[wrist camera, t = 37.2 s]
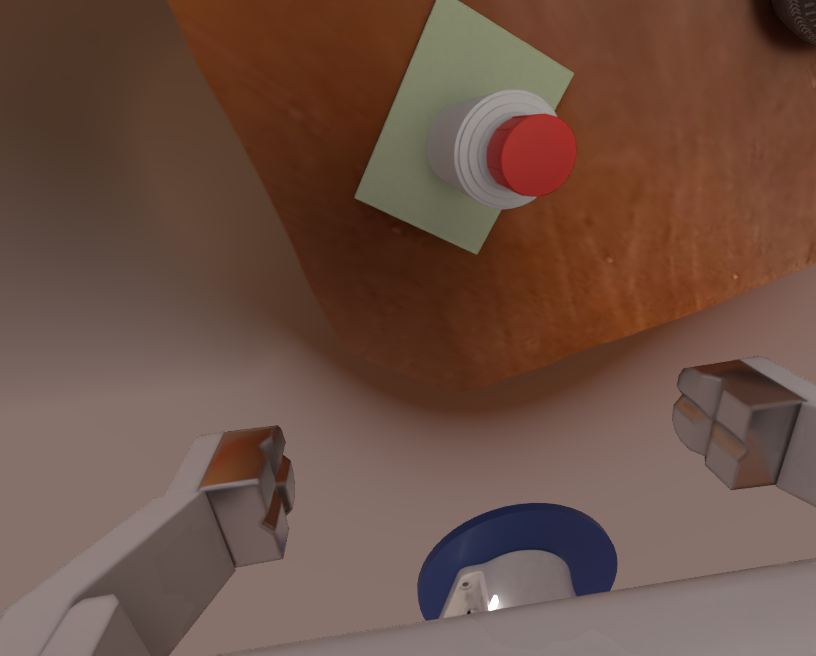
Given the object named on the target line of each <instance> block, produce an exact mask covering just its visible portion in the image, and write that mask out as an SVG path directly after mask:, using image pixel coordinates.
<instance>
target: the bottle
mask: <svg viewBox="0 0 816 656" xmlns="http://www.w3.org/2000/svg"><path fill="white" fill-rule="evenodd" d="M545 113H546V114H550V115H554V116H556V117H557V115H556V114H555V112H554V110H553V109H552V108H551V106H550V105H549V104H548V103H547V102H546V101H545V100H544V99H542V98H541V97H539V96H538V95H536V94H534V93H532V92H529V91H526V90H520V89H507V90H502V91H498V92H494V93H491V94H487V95H484V96H480V97H476V98H473V99H469V100H466V101H462V102H458V103H455V104H452V105H450V106H448V107H447V108H445V109H444V110H443V111H441V112H440V113H439V114H438V115H437V117H436V118H435V119H434V121H433V122H432V124H431V126H430V128H429V131H428V134H427V138H426V154H427V158H428V162H429V164H430V166H431V168H432V170H433V171H434V173H435V174H436V175H437V176H438V177H439V178H440V179H442V180H443V181H445V182H446V183H448V184H449V185H451V186H453V187H454V188H456V189H458V190H459V191H461V192H462V193H464V194H466V195H467V196H469V197H471V198H472V199H474V200H475V201H477V202H479V203H480V204H482V205H485V206H487V207H490V208H494V209H511V208H516V207H520V206H522V205H525V204H527V203H529V202H530V201H532V200H534V199H535V198H536V197H530V196H522V195H520V194H517V193H515V192H512V191H511V190H509V189H507V188H505V187H503V186H501V185H499V184H497V183H496V181H495V180H494V179H493V177H492V176H491V174H490V172H489V169H488V168H487V158H486V156H487V146H488V144H489V141H490V139H491V137H492V135H493V133H494V132H495V131H496V128H498V127H499V126H500V125H501V124H503V123H504V122H505V121H507V120H509V119H511V118H512V117H513V116H522V115H533V114H545Z"/></svg>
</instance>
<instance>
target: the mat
mask: <svg viewBox="0 0 816 656" xmlns="http://www.w3.org/2000/svg"><path fill="white" fill-rule="evenodd" d="M573 75H574V73H573V72H571V71H570V70H568V69H567V68H565V67H564V66H562V65H560V64H559V63H557V62H556V61H554V60H552V59H551V58H549V57H548V56H546V55H544V54H543V53H541V52H540V51H538V50H536V49H535V48H533V47H532V46H530V45H528V44H527V43H525V42H524V41H522V40H521V39H519V38H517V37H516V36H514V35H513V34H511V33H509V32H508V31H506V30H505V29H503V28H501V27H500V26H498V25H497V24H495V23H493V22H492V21H490V20H489V19H487V18H485V17H484V16H482V15H481V14H479V13H477V12H476V11H474V10H473V9H471V8H470V7H468V6H466V5H465V4H463V3H462V2H460V1H458V0H435V3H434V5H433V8H432V10H431V12H430V15H429V17H428V20H427V22H426V24H425V27H424V29H423V32H422V34H421V37H420V39H419V41H418V44H417V46H416V49H415V51H414V53H413V56H412V58H411V61H410V63H409V66H408V68H407V70H406V73H405V75H404V78H403V80H402V82H401V85H400V87H399V90H398V92H397V95H396V97H395V99H394V102H393V104H392V107H391V109H390V112H389V114H388V116H387V119H386V121H385V124H384V126H383V128H382V131H381V133H380V136H379V138H378V141H377V143H376V145H375V148H374V150H373V153H372V155H371V157H370V160H369V162H368V165H367V167H366V170H365V172H364V174H363V177H362V179H361V182H360V184H359V187H358V189H357V191H356V194H355V199H357V200H359V201H362V202H364V203H366V204H368V205H370V206H372V207H375V208H377V209H379V210H381V211H383V212H385V213H387V214H390V215H392V216H394V217H396V218H398V219H400V220H402V221H405V222H407V223H409V224H411V225H413V226H415V227H418V228H420V229H422V230H424V231H426V232H428V233H430V234H433V235H435V236H437V237H439V238H441V239H443V240H446V241H448V242H450V243H452V244H454V245H456V246H458V247H461V248H463V249H465V250H467V251H469V252H471V253H474V254H476V255H477V254H478V253H479V251H480V249H481V247H482V245H483V243H484V241H485V239H486V238H487V236H488V234H489V232H490V230H491V228H492V226H493V225H494V223H495V221H496V219H497V217H498V215H499V213H500V211H501V210H502V209H494V208H490V207H487V206H485V205H482V204H480V203H479V202H477V201H475V200H474V199H472V198H471V197H469V196H467V195H466V194H464V193H462V192H461V191H459V190H458V189H456V188H454V187H453V186H451V185H449V184H448V183H446V182H445V181H443V180H442V179H440V178H439V177H438V176H437V175H436V174H435V173H434V171H433V170H432V168H431V166H430V164H429V162H428V158H427V154H426V138H427V134H428V131H429V128H430V126H431V124H432V122H433V121H434V119H435V118H436V117H437V115H438V114H439V113H440V112H441V111H443V110H444V109H445V108H447V107H448V106H450V105H452V104H455V103H458V102H462V101H466V100H469V99H473V98H476V97H480V96H484V95H487V94H491V93H494V92H498V91H502V90H507V89H520V90H526V91H529V92H532V93H534V94H536V95H538V96H539V97H541V98H542V99H544V100H545V101H546V102H547V103H548V104H549V105H550V106H551V108H552V109H553V110H554V111H555V109H556V107H557V105H558V103H559V101H560V99H561V98H562V96H563V94H564V92H565V90H566V88H567V86H568V85H569V83H570V81H571V79H572V77H573Z"/></svg>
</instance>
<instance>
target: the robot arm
mask: <svg viewBox="0 0 816 656" xmlns="http://www.w3.org/2000/svg"><path fill="white" fill-rule="evenodd" d="M677 387H678V389H679V390H680V392H681V393H682V396H681V397H680V398H679V399H678V400H677V401H676V403H675V404H674V406H673V414H672V421H673V425H674V429H675V432H676V434H677V435H678V437H679V439H680V440H681V441H682V443H683V444H684V445H685V446H686V447H687V448H688V449H689V450H691V451H694V452H696V453H698V454H701V455H703V456H705V466H707V467H708V468H709V469H710V470H711V471H712V472H713V473H714V474H715V475H716V476H717V477H718V478H719V479H720V480H721V481H722V482H723V483H724V484H725V485H726V486H727V487H728V488H729V489H730V490H736V489H743V488H752V487H760V486H767V485H776V487H778V488H779V489H781V490H783V491H785V492H787V493H789V494H791V495H793V496H795V497H797V498H799V499H801V500H803V501H805V502H807V503H809V504H811V505H812V506H815V507H816V385H815V384H814V383H812V382H810V381H808V380H806V379H804V378H803V377H801V376H799V375H797V374H796V373H794V372H792V371H790V370H788V369H787V368H785V367H783V366H781V365H779V364H778V363H776V362H774V361H772V360H771V359H769V358H766V357H761V356H753V357H747V358H742V359H737V360H732V361H727V362H721V363H715V364H708V365H702V366H695V367H690V368H684V369H683V370H682V372H681V373H680V375H679V377H678V383H677ZM285 443H286V442H285V439H284V436H283V433H282V430H281V428H280V427H279V426H269V427H261V428H252V429H244V430H236V431H228V432H219V433H213V434H206V435H201V436H199V437H197V438H196V439H195V441H194V443H193V445H192V447H191V448H190V450H189V452H188V454H187V456H186V457H185V459H184V461H183V463H182V465H181V466H180V468H179V470H178V472H177V474H176V476H175V477H174V479H173V481H172V483H171V484H170V487H169V488H168V490H167V492H166V494H165V495H164V496H162V497H156V498H154V499H153V500H152V501H150V502H149V503H147V504H146V505H145V506H143V507H142V508H141V509H139V510H138V511H137V512H135V513H134V514H133V515H131V516H130V517H129V518H127V519H126V520H125V521H123V522H122V523H120V524H119V525H118V526H117V527H115V528H114V529H112V530H111V531H110V532H108V533H107V534H106V535H104V536H103V537H102V538H100V539H99V540H98V541H96V542H95V543H94V544H92V545H91V546H89V547H88V548H87V549H86V550H84V551H83V552H81V553H80V554H79V555H77V556H76V557H75V558H73V559H72V560H71V561H69V562H68V563H67V564H65V565H64V566H63V567H61V568H60V569H58V570H57V571H56V572H54V573H53V574H52V575H50V576H49V577H48V578H46V579H45V580H44V581H42V582H41V583H40V584H38V585H37V586H36V587H34V588H33V589H32V590H30V591H29V592H28V593H26V594H25V595H23V596H22V597H21V598H19V599H18V600H17V601H15V602H14V603H13V604H11V605H10V606H9V607H7V608H6V610H5V611H4V612H3V614H2V615H1V616H0V656H169V655H170V653H171V652H172V651H173V650H174V648H175V647H176V646H177V644H178V643H179V642H180V641H181V639H182V638H183V637H184V635H185V634H186V633H187V632H188V630H189V629H190V628H191V627H192V625H193V624H194V623H195V622H196V620H197V619H198V618H199V616H200V615H201V614H202V613H203V611H204V610H205V609H206V608H207V606H208V605H209V604H210V603H211V601H212V600H213V599H214V597H215V596H216V595H217V593H218V592H219V591H220V590H221V589H222V587H223V586H224V585H225V583H226V582H227V581H228V580H229V578H230V577H231V576H232V575H233V573H234V572H235V568H236V567H242V566H247V565H253V564H258V563H264V562H269V561H274V560H280V559H283V557H284V552H285V546H286V542H287V537H288V531H289V526H288V523H287V519H286V516H287V515H288V514H289V513H290V511H291V510H292V509H293V504H294V498H295V481H294V473H293V468H292V464H291V461H290V460H289V459H288V458H286V457H285V456H284V455H283V451H284V447H285ZM211 656H816V558H813V559H807V560H800V561H795V562H788V563H782V564H776V565H769V566H763V567H757V568H751V569H745V570H738V571H732V572H727V573H720V574H713V575H707V576H701V577H695V578H688V579H682V580H676V581H670V582H664V583H657V584H651V585H645V586H639V587H633V588H626V589H620V590H614V591H608V592H602V593H595V594H589V595H583V596H576V593H575V591H574V589H573V584H572V580H571V574H570V570H569V567H568V565H567V564H566V563H565V562H564V560H562V559H561V558H560V557H558V556H557V555H555V554H552V553H550V552H546V551H542V550H520V551H514V552H510V553H507V554H504V555H501V556H498V557H496V558H494V559H492V560H490V561H488V562H485V563H483V564H477V565H472V566H467V567H464V568H462V569H460V570H459V572H458V573H457V576H456V578H455V581H454V583H453V585H452V588H451V590H450V592H449V595H448V597H447V600H446V602H445V604H444V607H443V609H442V611H441V614H440V616H439V619H434V620H428V621H422V622H416V623H410V624H403V625H398V626H391V627H385V628H379V629H372V630H366V631H360V632H354V633H347V634H341V635H335V636H329V637H323V638H316V639H311V640H304V641H299V642H292V643H285V644H279V645H273V646H267V647H261V648H255V649H249V650H243V651H236V652H230V653H224V654H217V655H211Z"/></svg>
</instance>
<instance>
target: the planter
mask: <svg viewBox="0 0 816 656" xmlns="http://www.w3.org/2000/svg"><path fill="white" fill-rule="evenodd" d="M771 4H772V7H773V9H774V11H775V13H776V15H777V17H778V18H779V19H780V20H781V21H782V22H783V23H784V24H785V25H786V26H787V27H788V28H789V29H790V30H791V31H792V32H793V33H794V34H796V35H797V36H798V37H800V38H801V39H803V40H804V41H806V42H808V43H810V44H812V45H814V46H816V0H771Z"/></svg>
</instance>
